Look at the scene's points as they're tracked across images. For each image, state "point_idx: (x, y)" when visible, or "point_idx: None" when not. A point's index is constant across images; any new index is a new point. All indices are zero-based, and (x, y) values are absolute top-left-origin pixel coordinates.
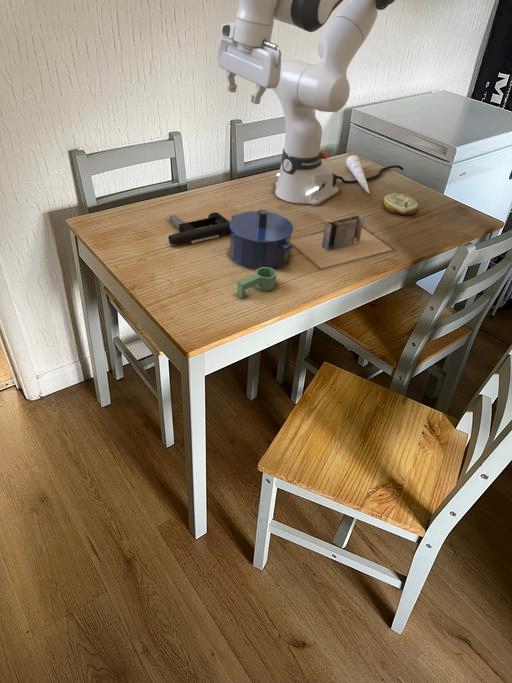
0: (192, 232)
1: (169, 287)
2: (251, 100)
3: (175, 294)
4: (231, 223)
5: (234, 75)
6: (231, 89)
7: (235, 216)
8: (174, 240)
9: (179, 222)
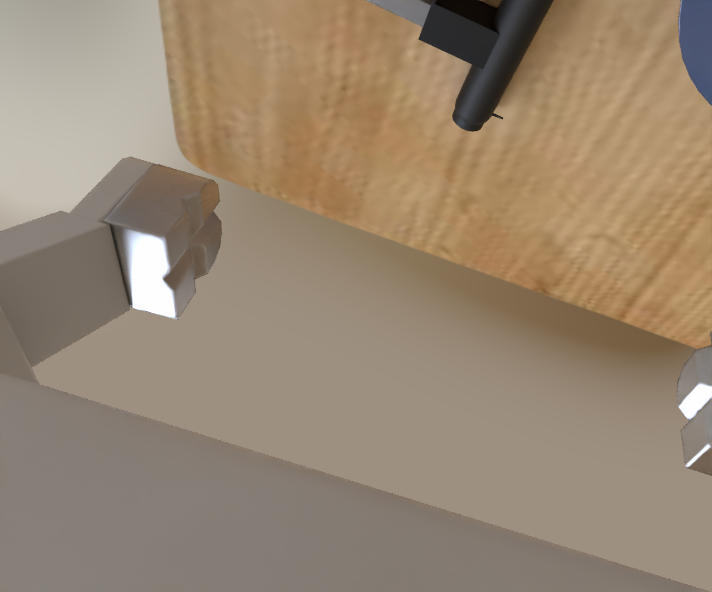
0: (508, 64)
1: (619, 255)
2: (689, 402)
3: (653, 269)
4: (701, 75)
5: (6, 331)
6: (204, 268)
7: (685, 3)
8: (484, 122)
9: (397, 6)
